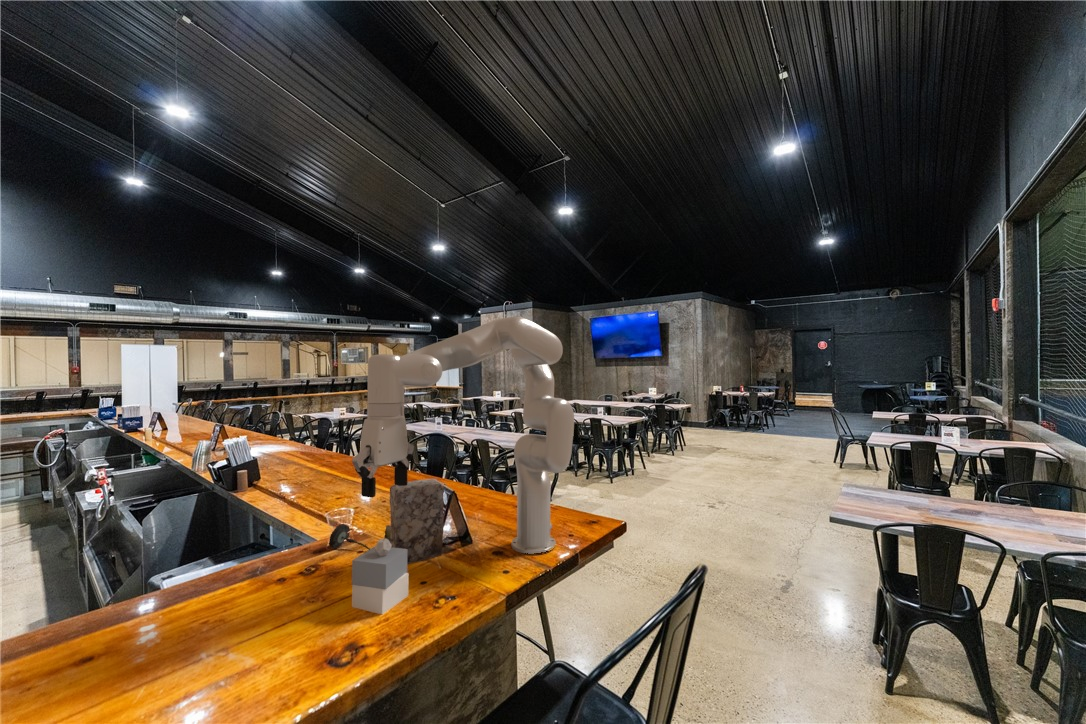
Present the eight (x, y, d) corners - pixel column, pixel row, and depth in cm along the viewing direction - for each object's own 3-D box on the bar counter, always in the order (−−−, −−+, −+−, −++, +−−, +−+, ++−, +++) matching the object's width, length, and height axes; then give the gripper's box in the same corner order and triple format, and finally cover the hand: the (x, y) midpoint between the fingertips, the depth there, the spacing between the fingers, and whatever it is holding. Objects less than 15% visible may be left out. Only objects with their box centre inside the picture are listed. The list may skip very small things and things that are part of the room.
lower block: (379, 589, 96) (379, 567, 96) (408, 596, 93) (408, 573, 93) (352, 607, 89) (352, 583, 89) (382, 615, 86) (382, 590, 86)
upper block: (375, 567, 96) (375, 545, 96) (407, 571, 94) (407, 549, 94) (351, 584, 88) (352, 560, 88) (385, 589, 86) (386, 564, 86)
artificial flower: (346, 545, 124) (356, 510, 127) (412, 565, 118) (421, 527, 120) (324, 548, 116) (336, 511, 119) (393, 569, 109) (404, 529, 112)
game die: (374, 559, 89) (374, 544, 89) (373, 552, 92) (374, 538, 92) (392, 556, 90) (392, 542, 91) (391, 549, 94) (391, 536, 94)
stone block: (397, 569, 106) (398, 489, 106) (386, 560, 111) (388, 483, 112) (445, 555, 114) (446, 480, 115) (433, 547, 119) (434, 476, 120)
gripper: (399, 407, 101) (399, 479, 101) (340, 414, 85) (339, 499, 85) (425, 408, 99) (425, 482, 98) (369, 415, 83) (368, 503, 82)
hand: (385, 490), depth 92 cm, fingers open, 9 cm apart
